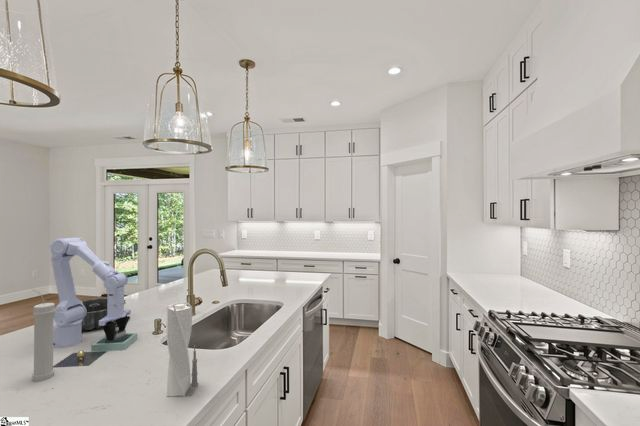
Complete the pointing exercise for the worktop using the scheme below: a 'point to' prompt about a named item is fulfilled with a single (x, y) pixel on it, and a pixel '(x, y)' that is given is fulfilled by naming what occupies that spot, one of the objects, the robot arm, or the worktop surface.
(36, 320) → the pipe
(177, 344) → the skyscraper
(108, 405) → the worktop surface
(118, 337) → the grey block
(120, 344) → the bin
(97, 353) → the square lid with knob
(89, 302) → the bundt pan
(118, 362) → the worktop surface
